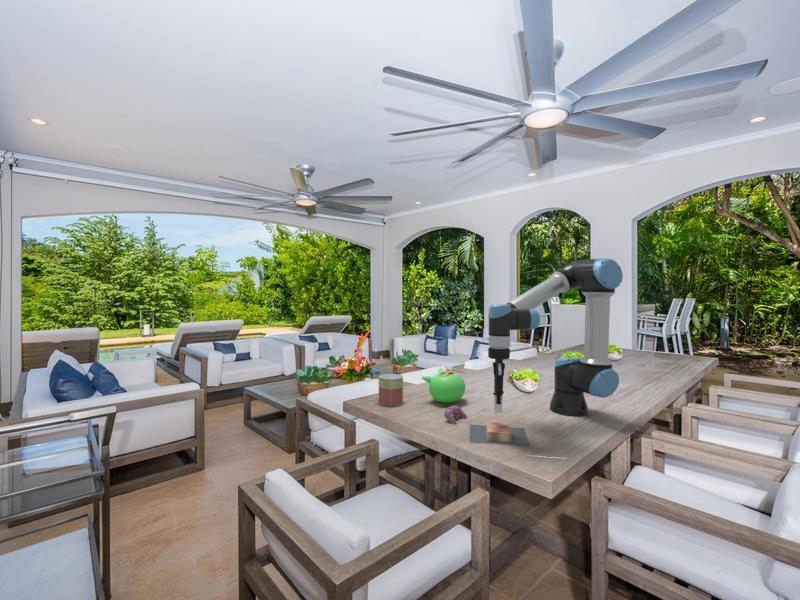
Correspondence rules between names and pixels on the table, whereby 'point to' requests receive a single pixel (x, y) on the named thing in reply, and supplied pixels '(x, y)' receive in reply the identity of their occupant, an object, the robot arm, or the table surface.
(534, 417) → the table surface
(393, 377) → the canned food
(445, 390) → the toy bird
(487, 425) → the oak tile
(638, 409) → the table surface
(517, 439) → the rubber mat
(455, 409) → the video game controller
